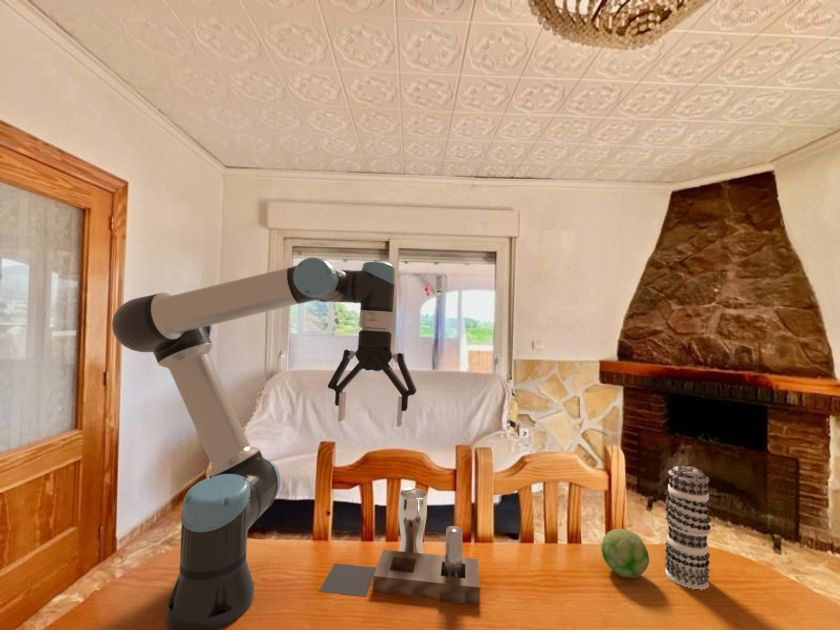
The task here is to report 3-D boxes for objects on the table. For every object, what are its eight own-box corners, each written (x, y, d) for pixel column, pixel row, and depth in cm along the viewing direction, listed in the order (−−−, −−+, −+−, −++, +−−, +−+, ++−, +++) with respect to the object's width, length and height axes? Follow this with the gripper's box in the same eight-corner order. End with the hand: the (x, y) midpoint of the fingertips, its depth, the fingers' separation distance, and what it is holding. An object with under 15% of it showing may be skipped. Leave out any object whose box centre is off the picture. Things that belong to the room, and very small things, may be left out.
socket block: (372, 592, 84) (373, 575, 84) (382, 564, 94) (383, 549, 94) (479, 604, 81) (479, 587, 81) (477, 574, 91) (478, 559, 91)
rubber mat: (318, 593, 83) (318, 591, 83) (334, 564, 93) (334, 563, 93) (365, 598, 82) (365, 596, 82) (376, 569, 92) (376, 567, 92)
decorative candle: (661, 580, 92) (663, 470, 92) (664, 561, 99) (666, 459, 100) (711, 597, 86) (713, 479, 87) (710, 575, 94) (712, 468, 95)
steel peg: (443, 590, 85) (445, 533, 86) (444, 580, 89) (446, 525, 89) (460, 592, 85) (462, 535, 85) (460, 581, 89) (462, 526, 89)
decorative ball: (621, 591, 87) (622, 544, 88) (591, 564, 97) (592, 522, 97) (659, 585, 90) (660, 540, 90) (626, 559, 99) (627, 519, 100)
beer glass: (422, 565, 94) (424, 501, 94) (393, 561, 95) (395, 497, 96) (427, 549, 101) (429, 489, 101) (400, 545, 102) (402, 486, 103)
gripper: (317, 326, 90) (311, 421, 90) (427, 333, 87) (422, 431, 87) (328, 327, 98) (323, 414, 97) (430, 332, 95) (425, 423, 94)
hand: (370, 422), depth 92 cm, fingers open, 13 cm apart
